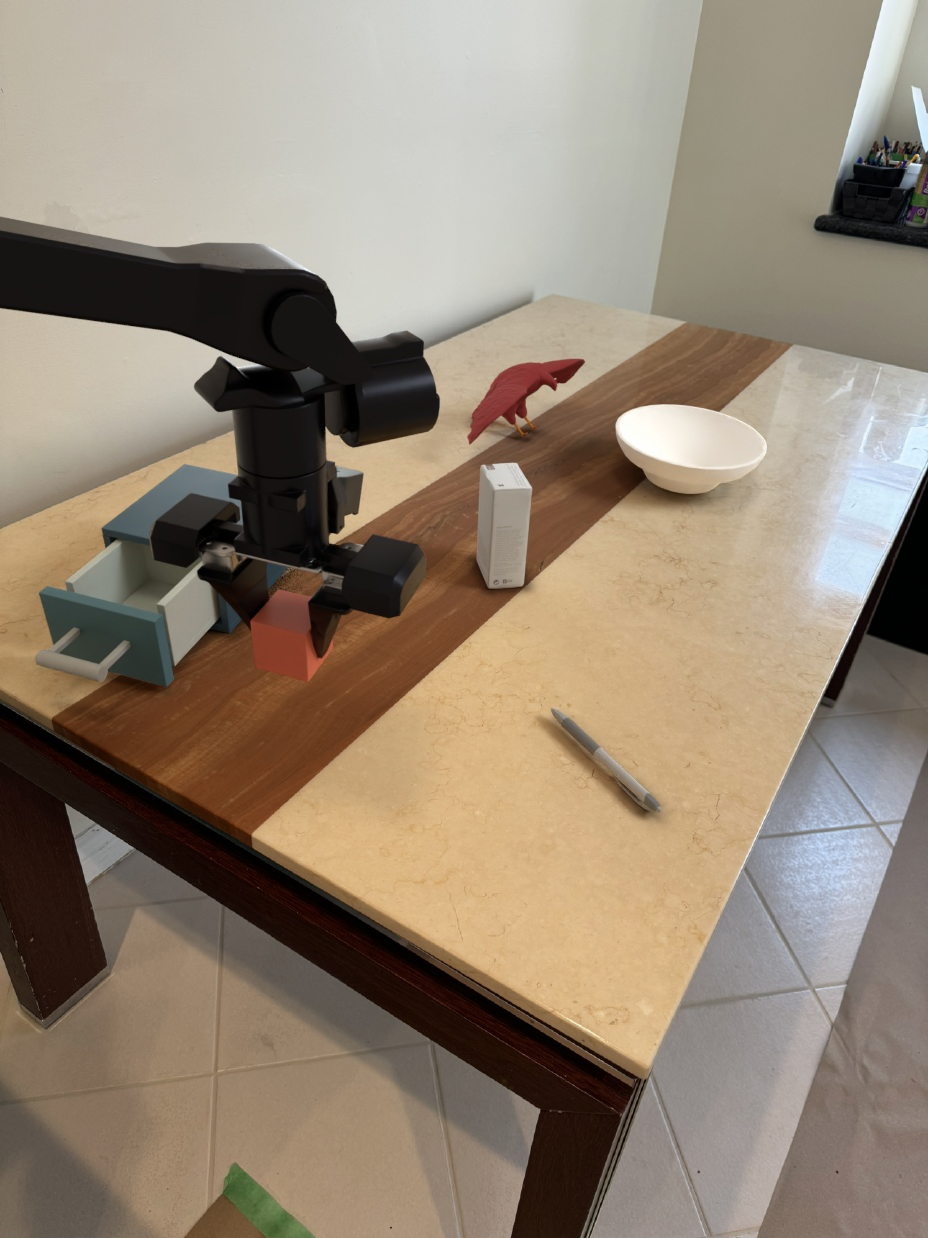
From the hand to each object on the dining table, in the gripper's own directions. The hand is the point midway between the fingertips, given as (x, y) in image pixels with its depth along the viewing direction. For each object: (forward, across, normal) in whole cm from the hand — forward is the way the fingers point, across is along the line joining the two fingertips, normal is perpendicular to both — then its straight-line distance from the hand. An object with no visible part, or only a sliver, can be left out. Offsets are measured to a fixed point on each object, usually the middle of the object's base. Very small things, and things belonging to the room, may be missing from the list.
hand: (294, 647), depth 66 cm
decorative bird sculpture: (+12, +1, -70) cm, 71 cm away
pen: (+12, -24, -8) cm, 28 cm away
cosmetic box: (+12, -8, -33) cm, 36 cm away
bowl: (+12, -24, -64) cm, 70 cm away
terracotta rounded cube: (+1, 0, 0) cm, 1 cm away
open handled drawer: (+11, +20, -7) cm, 24 cm away
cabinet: (+12, +20, -20) cm, 31 cm away
